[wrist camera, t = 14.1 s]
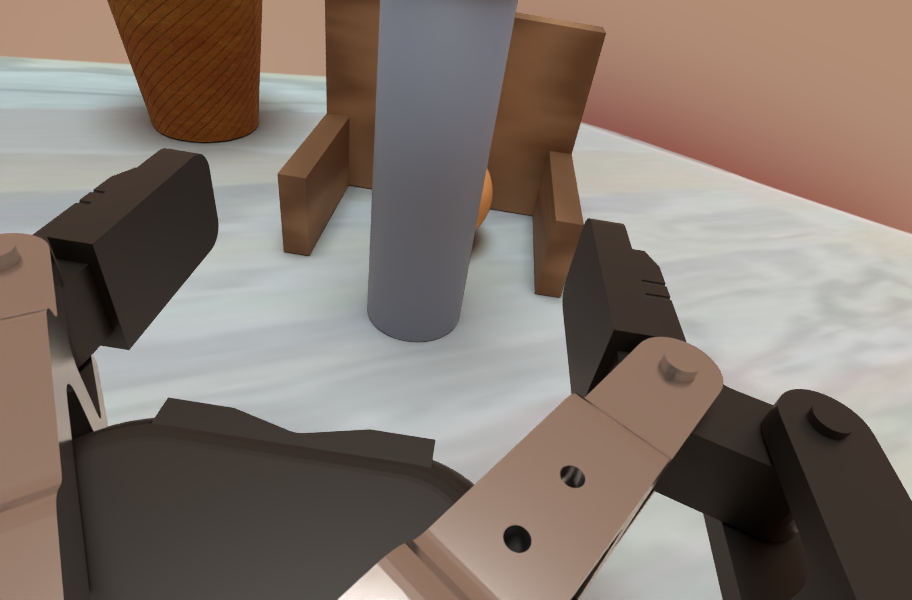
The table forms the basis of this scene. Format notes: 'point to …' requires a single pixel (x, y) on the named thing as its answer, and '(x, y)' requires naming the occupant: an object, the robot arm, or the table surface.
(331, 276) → the table surface
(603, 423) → the robot arm
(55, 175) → the table surface
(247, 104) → the disposable coffee cup
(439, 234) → the player figure
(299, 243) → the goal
